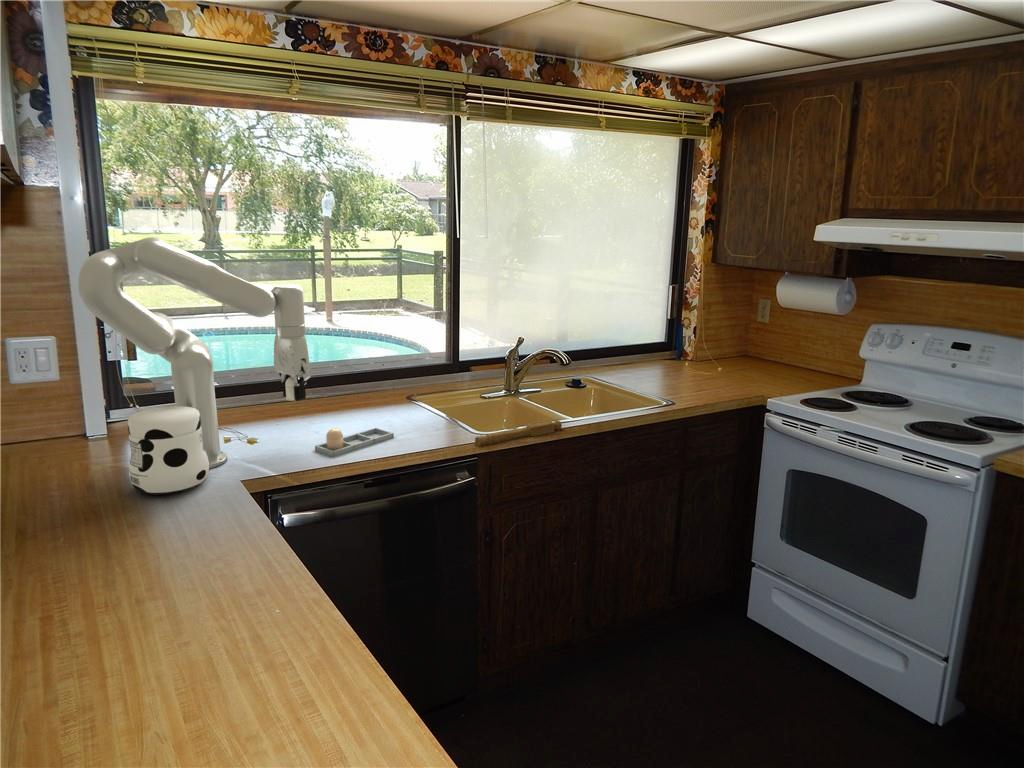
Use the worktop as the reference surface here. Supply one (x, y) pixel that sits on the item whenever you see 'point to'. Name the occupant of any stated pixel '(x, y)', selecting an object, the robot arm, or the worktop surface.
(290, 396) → the white egg
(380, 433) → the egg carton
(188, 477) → the milk container
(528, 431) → the brown long rod
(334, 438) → the brown egg
